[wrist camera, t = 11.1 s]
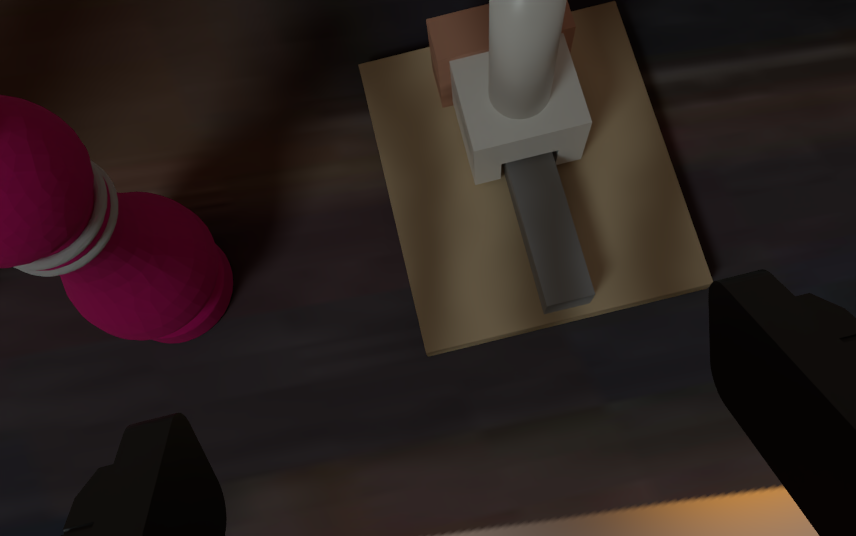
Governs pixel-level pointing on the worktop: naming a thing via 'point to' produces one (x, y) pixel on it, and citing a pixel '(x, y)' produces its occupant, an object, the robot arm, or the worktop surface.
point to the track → (481, 214)
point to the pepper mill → (104, 235)
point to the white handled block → (520, 91)
